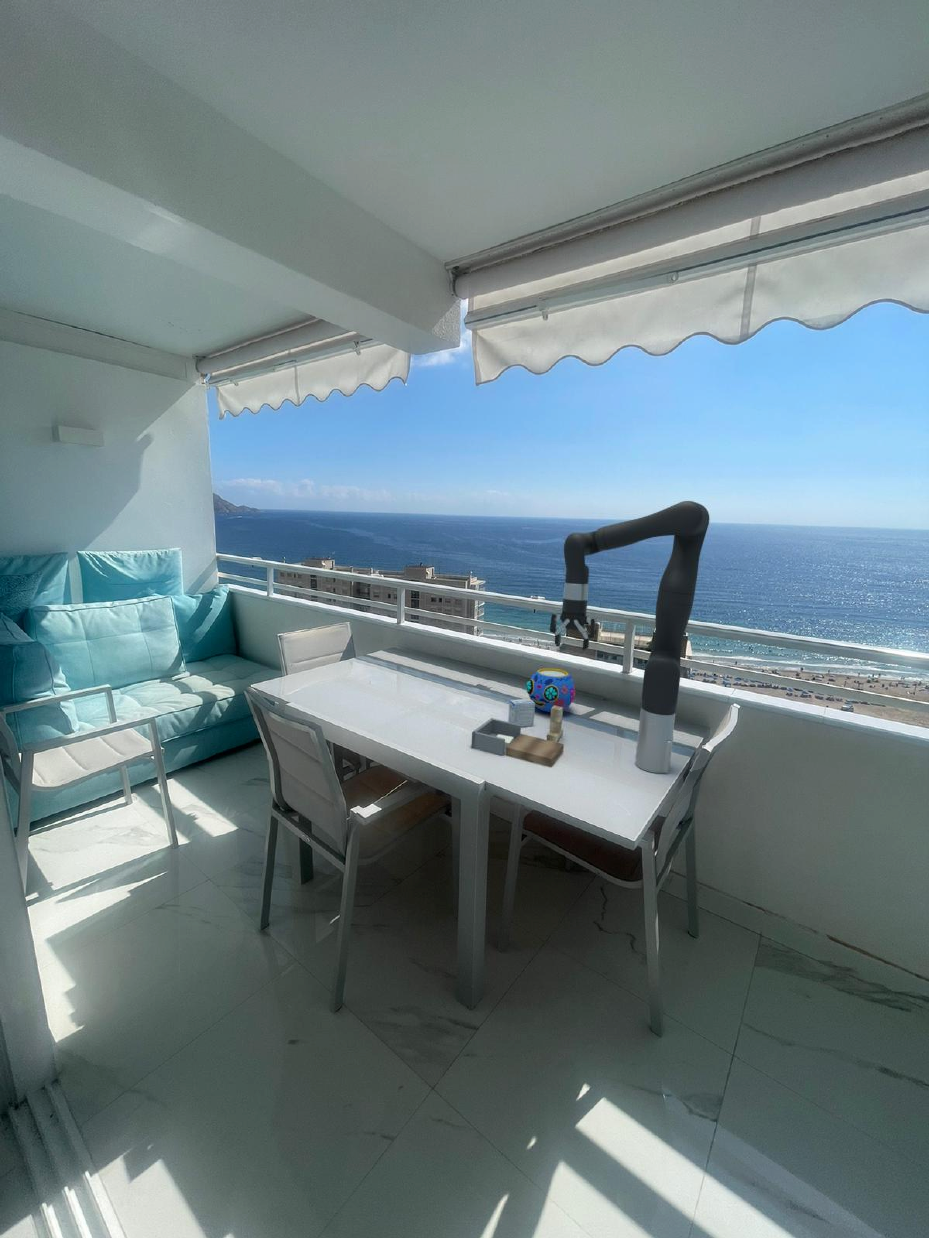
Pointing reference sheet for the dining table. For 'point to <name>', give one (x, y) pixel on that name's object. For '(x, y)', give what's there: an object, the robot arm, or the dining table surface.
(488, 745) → the box
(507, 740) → the cream tile
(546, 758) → the walnut plate
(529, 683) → the ceramic pot
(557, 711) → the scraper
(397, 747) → the dining table surface
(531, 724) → the medicine box
